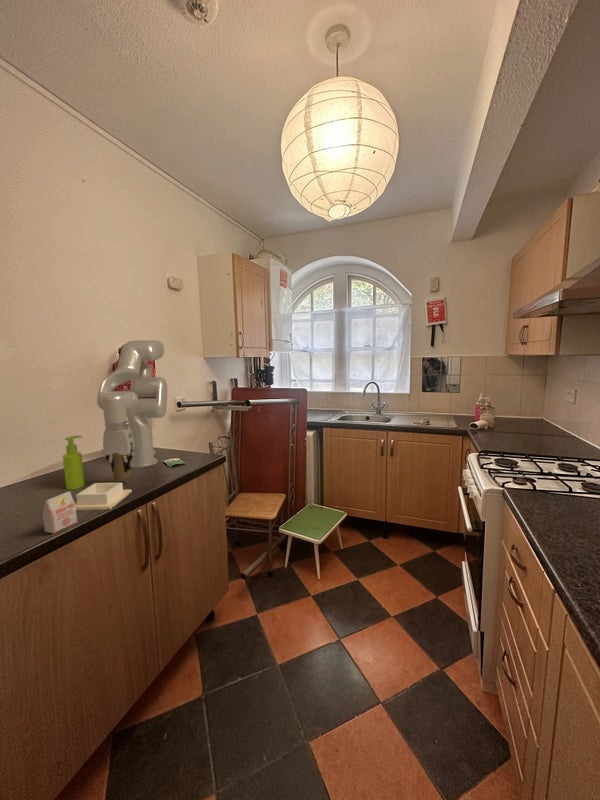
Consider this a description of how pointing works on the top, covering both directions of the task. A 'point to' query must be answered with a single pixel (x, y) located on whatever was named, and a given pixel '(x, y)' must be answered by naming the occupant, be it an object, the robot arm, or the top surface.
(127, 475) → the cork
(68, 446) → the soap dispenser
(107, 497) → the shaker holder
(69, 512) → the white carton
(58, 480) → the top surface
